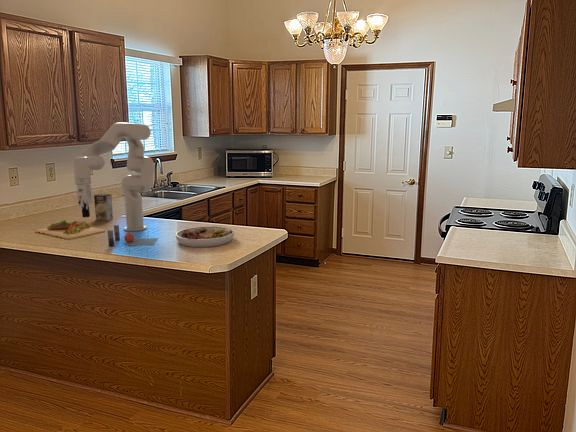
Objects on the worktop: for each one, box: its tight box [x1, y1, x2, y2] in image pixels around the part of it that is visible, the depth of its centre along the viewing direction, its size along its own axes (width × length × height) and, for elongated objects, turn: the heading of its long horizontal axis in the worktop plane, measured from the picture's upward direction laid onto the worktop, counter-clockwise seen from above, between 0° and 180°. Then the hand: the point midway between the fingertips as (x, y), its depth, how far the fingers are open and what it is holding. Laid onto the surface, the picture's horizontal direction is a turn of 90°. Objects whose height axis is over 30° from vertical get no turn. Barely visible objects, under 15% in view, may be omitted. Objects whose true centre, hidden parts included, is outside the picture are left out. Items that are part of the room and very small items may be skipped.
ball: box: [123, 232, 135, 243], centre depth 257 cm, size 5×5×5 cm
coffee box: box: [93, 193, 114, 221], centre depth 316 cm, size 9×6×16 cm
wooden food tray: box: [35, 219, 106, 240], centre depth 283 cm, size 35×23×8 cm
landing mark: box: [125, 237, 159, 247], centre depth 258 cm, size 14×14×1 cm
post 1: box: [107, 229, 115, 247], centre depth 250 cm, size 3×3×8 cm
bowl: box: [175, 225, 235, 248], centre depth 258 cm, size 30×30×8 cm
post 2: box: [113, 224, 121, 242], centre depth 262 cm, size 3×3×8 cm
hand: (86, 216), depth 253 cm, fingers closed
